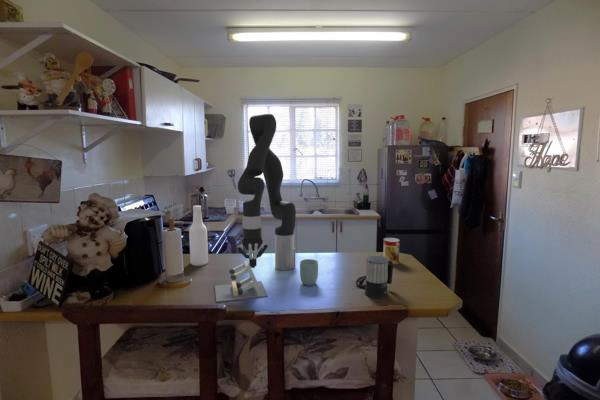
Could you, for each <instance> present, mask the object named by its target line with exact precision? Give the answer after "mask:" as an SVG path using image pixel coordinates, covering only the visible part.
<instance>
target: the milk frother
mask: <svg viewBox="0 0 600 400" xmlns="http://www.w3.org/2000/svg"><path fill="white" fill-rule="evenodd" d="M365 260H366V261H365V263H366V264H365V265H366V266H365V275H362V276H359V277H358V278H356V280H355V284H356V286H358V287H359V288H365V291H364V294H365V296H367V297H369V298H373V299H384V298H387V297H388V295H389V293H388V285H391V284H392V282H393V272H394V264H393V263H392V261H391V260H389V259H388V258H386V257H383V256H381V255H372V256H371V255H370V256H367V257H366V258H365ZM364 282H365V284H364Z"/></svg>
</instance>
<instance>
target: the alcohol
mask: <svg viewBox="0 0 600 400" xmlns="http://www.w3.org/2000/svg"><path fill="white" fill-rule="evenodd" d="M192 210H193V211H192V213H193V215H192V216H193V217H192V224H191V225H190V227H189V230H188V238H189V254H190V255H189V257H190V259H189V260H190V264H191V265H192V266H194V267H201V266H205V265H207V264H208V263H209V246H208V229H207V226H206V225H205V224H204V222H203V214H202V206H201V205H199V204H198V205H197V204H196V205H193V206H192Z"/></svg>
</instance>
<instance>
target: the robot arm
mask: <svg viewBox="0 0 600 400" xmlns="http://www.w3.org/2000/svg"><path fill="white" fill-rule="evenodd" d="M275 117H276V116H274V114H272V113H263V114H257V115H252V116H250V117H249V120H248V121H249V122H248V124H249V126H248V127H249V130H250V133H251V137H252V139H253V142H254V147H253V148H252V149H251V151H250V152H249V155H248V158H247V161H246V167H245V169H244V170H243V173H242V174H241V176H240V177H239V179H238V181H237V190H238V191H237V192H239V194H240V195H244V196H246V195H247V196H251V195H253V199H249V200H244V201H243V203H242V241H241V244H239V245H237V246H236V248H237V250H238V252H239V253H240V254H241V255H242V256H243V257H244V258H245V259H247V260H248V263H249V265H250V267H251V269H255V268H256V267H257V264H258V263H257V262H258V261H257V260H258V259H259V258H261V257H262V256H263V255H264V253H265V252H266V250H267V249H268V247H269V245H268V244H267V243H265V242H264V240H263V239H262V237H263V236H262V225H263V224H262V216H261V203H262V199H263V194H264V191H265V186H266V190H267V194H268V200H269V207H270V208H269V209H270V212H271V215H272V217H273V218H274V219H276V220H280V221H281V225H279V226H276V227H275V229H274V262H275V263H274V266H275V269H276V270H279V271H290V270H293V269H294V268H296V248H295V247H294V246H295V244H294V243H295V241H294V240H295V239H294V238H295V237H294V235H295V234H294V232H295V231H294V230H295V228H296V219H297V217H296V214H297V208H296V206H295V204H294V203H293V202H291V201H285V200H283V197H282V195H281V187H282V183H283V181H284V170H283V166H282V162H281V160H280V158H279V157H278V155H276V153H275V152H273V151H272V150H271V148H270V147H271V144H272V142H273V139H274V137H275V133H276V131H277V120H276V118H275ZM261 175H263V178H264V179H263V178H261V177H259V176H261ZM244 248H245V250H246V251H247V252H248V253H247V252H246V251H245V250H244ZM258 250H259V251H258Z"/></svg>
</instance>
